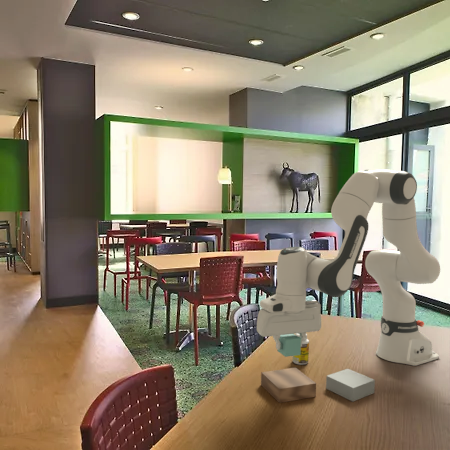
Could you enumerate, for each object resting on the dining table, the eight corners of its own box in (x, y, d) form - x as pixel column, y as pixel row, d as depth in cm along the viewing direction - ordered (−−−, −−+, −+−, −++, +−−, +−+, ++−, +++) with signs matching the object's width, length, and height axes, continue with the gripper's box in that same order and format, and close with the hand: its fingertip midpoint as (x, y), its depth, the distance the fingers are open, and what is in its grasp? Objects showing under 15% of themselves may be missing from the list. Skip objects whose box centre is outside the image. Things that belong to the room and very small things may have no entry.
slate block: (347, 380, 139) (347, 368, 139) (374, 392, 131) (374, 379, 131) (325, 388, 133) (326, 375, 133) (352, 401, 125) (353, 388, 125)
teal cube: (291, 349, 134) (292, 333, 133) (300, 354, 129) (300, 338, 129) (277, 350, 132) (277, 334, 131) (285, 356, 127) (285, 339, 127)
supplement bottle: (300, 366, 150) (301, 337, 149) (289, 361, 154) (289, 332, 153) (311, 363, 153) (312, 334, 152) (300, 358, 157) (301, 330, 156)
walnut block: (295, 379, 139) (295, 367, 139) (315, 396, 128) (316, 383, 128) (260, 384, 135) (261, 372, 134) (279, 402, 124) (279, 389, 123)
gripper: (314, 297, 136) (313, 340, 137) (255, 301, 129) (253, 347, 130) (326, 302, 130) (324, 347, 131) (264, 307, 123) (263, 355, 124)
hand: (288, 347), depth 130 cm, fingers closed on teal cube, 5 cm apart
